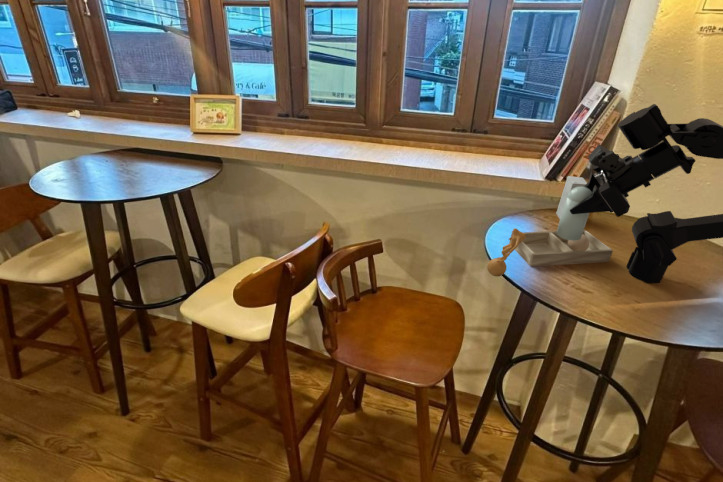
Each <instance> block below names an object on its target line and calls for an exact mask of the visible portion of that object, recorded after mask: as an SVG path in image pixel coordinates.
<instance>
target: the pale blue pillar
mask: <svg viewBox="0 0 723 482" xmlns="http://www.w3.org/2000/svg"><path fill="white" fill-rule="evenodd" d="M591 194H592V191H591V190H590V189H588V188H586V187H576V188H573V189H572V190H571V191H570V192H569V193H568V195H567V198H566V201H565V205H564V208H563V211H562V215H561V218H560V219H559V222H558V225H557V228H556V229H557V230H556V231H557V232H556V234H557V235H558V236H559V237H561V238H563V239H567V240H572V241H576V240H580V239H581V237H582V234H583V231H584V230H585V229H586V228H585V227H586V224H587V222H588V219H589V215H590V213H582V214H571V212H570V209H572V208H573V207H574V206H576V205H577V204H578V203H580V202H581V201H583V200H584V199H586V198H587V197H588V196H590V195H591Z"/></svg>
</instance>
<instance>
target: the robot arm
mask: <svg viewBox="0 0 723 482" xmlns="http://www.w3.org/2000/svg"><path fill="white" fill-rule="evenodd" d="M617 127H618V129H619V130H620V131H621V133H622V134H623V136H624V137H625V139H626V141H627V142H628V143H629V144H630V146H631V147H632V148H633V149H634V150H639V149H641V151H642V152H641V153H638V154H636V155H635V156H634V157H633V156H632V155H626V156H625V157H621V156H620V155H619V154H618V153H615V152H614V150H609V148H606V147H605V146H603V145H602V144H598V145H597V146H596V147H595V148H594V149H593V150H592V151H591V153H590V154H589V155H588V156H587V159H588V162H589V163H590V164H591V165H592V166H591V167H592V170H593V171H594V172H595V173H594V172H593V171H592V170H591V171H590V175H589V179H588V181H587V184H586V185H585V186H584V187H586V188H588V189H590V190H591V191H592V194H591V195H590V196H588V197H587V198H586V199H584V200H583V201H581V202H580V203H578V204H577V205H576V206H574V207H573V208H572V209H570V212H571V214H582V213H589V214H591V213H593V214H594V213H607V212H608V213H614V215H615V216H616V217H617V218H620V217H622V216H623V215H625V214H627V213H629V211H630V207H631V205H630V203H629V201H628V197H630V196H629V193H630V192H632V191H634V190H636V189H637V188H640V187H641V186H644V188H648V187H649V186H651V183H650V182H651V181H653V180H655V179H657V178H659V177H661V176H663V175H665V174H667V173H668V172H671V171H673V170H676V169H677V168H679V167H680V168H681V169H682V171H683V172H684V173H685V174H691V172H692V169H693V166H694V163H695V162H696V159H695V158H694V157H693V156H687V155H686V154H685V151H683V149H682V148H681V146H683V147H685V149H687V150H688V152H690V153H691V154H693V155H694V156H696V157H702V158H703V157H704V158H711V159H716V160H723V125H721V124H719V123H718V122H715V121H714V120H711V119H710V118H704V117H702V118H701V117H700V118H695V120H691V121H690V122H687V123H668V122H667V120H666V119H665V117H664V115H662V111H661V109H660V108H659V106H658V105H657V104H655V103H653V104H651V105H649V106H648V107H644V108H642V109H640V110H637V111H633V112H631V113H630V114H628V115H627V116H626V117H624V118H622V120H620V121H619V122H618V124H617ZM668 136H669V138H671V139H672V141H674V143H676V144H675V145H674V144H673V145H671V143H670V142H669V140H668V139H667V137H668ZM631 232H632V235H633V238H634V241H635V243H636V247H635V248H634V251H632V252H631V254H630V256H629V259H628V260H627V263H626V266H625V267H626V269H627V271H628V274H629V275H630V276H632V277H633V278H634V279H636V280H638V281H642V282H644V283H645V284H648V285H649V284H660V283H661V282H662V279H663V277H664V276H665V273H666V271H667V270H668V268H669V267H670V266H671V265H672V264H674V262H676V261H677V260H678V259H677V256H676V255H675V252H674V249H677V248H678V247H681V246H683V245H685V244H687V243H690V242H697V241H705V240H713V239H714V240H715V239H716V240H717V239H723V213H720V214H719V213H718V214H714V215H713V214H712V215H711V214H710V215H704V216H696V217H690V218H689V217H688V218H679V217H675V216H674V214H673V213H672V211H671V210H667V211H661V212H657V213H649V212H647V213H646V215H645V216H643V217H639V218H638V219H637V220H636V221H635V222H634V223H633V225H632V227H631Z"/></svg>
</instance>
